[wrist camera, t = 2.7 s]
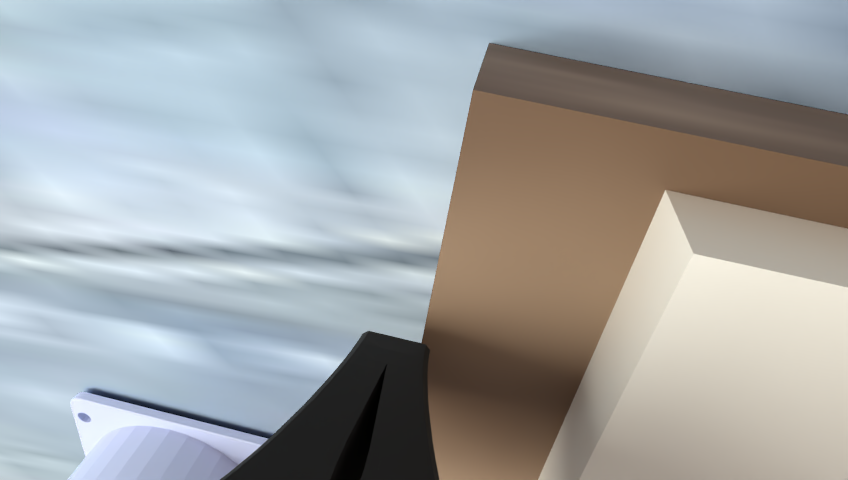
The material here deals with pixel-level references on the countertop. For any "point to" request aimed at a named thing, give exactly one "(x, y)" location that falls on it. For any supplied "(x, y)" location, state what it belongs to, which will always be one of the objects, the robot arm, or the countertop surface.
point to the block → (718, 355)
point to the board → (583, 230)
